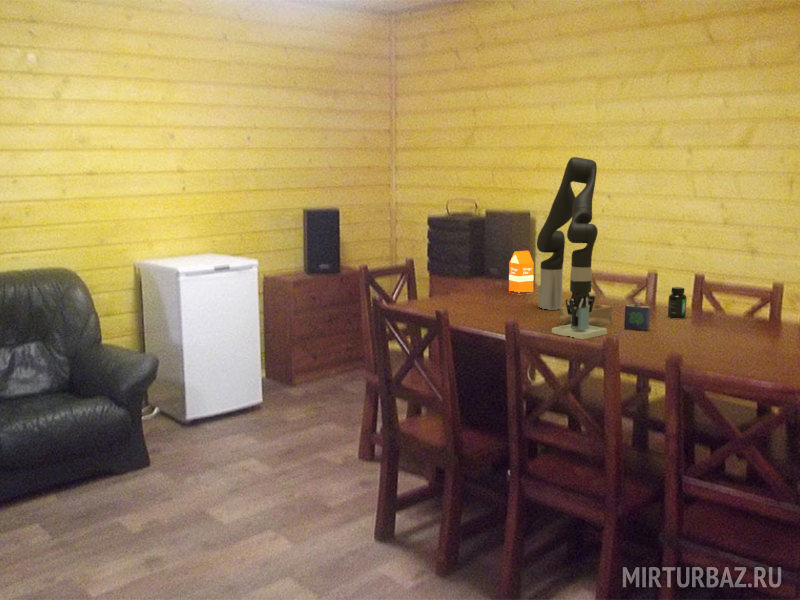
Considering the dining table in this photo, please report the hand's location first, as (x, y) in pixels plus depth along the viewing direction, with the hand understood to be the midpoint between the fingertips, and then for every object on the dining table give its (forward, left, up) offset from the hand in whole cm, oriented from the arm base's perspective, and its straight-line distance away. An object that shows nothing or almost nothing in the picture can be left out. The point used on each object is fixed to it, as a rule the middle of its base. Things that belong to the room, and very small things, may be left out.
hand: (579, 325), depth 297 cm
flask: (+9, +22, -3) cm, 24 cm away
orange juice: (-79, +53, -3) cm, 95 cm away
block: (0, 0, -1) cm, 1 cm away
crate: (-11, +17, -3) cm, 20 cm away
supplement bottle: (+5, +54, -3) cm, 54 cm away
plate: (0, 0, -3) cm, 3 cm away
